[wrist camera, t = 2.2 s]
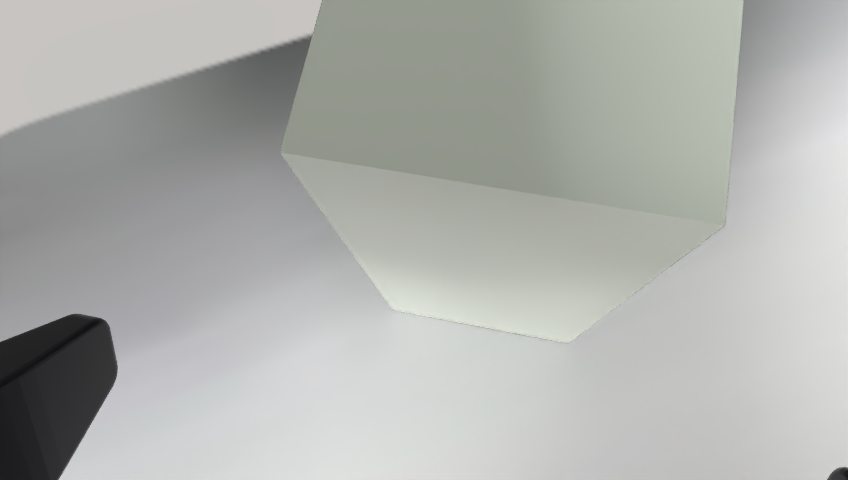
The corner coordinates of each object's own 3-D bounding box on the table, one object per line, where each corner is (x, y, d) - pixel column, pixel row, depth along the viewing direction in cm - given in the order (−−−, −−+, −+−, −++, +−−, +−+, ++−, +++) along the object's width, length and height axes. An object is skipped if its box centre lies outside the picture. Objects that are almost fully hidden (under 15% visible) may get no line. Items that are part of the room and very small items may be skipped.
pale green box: (568, 343, 20) (725, 224, 8) (392, 309, 20) (279, 152, 8) (591, 176, 21) (755, -147, 9) (426, 150, 22) (373, -183, 10)
